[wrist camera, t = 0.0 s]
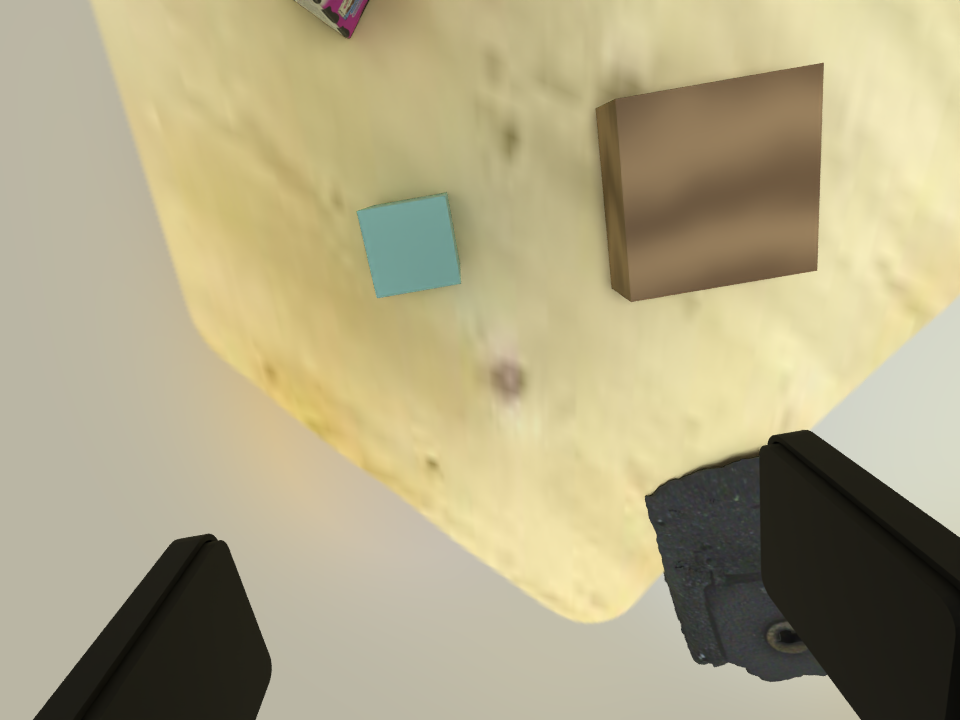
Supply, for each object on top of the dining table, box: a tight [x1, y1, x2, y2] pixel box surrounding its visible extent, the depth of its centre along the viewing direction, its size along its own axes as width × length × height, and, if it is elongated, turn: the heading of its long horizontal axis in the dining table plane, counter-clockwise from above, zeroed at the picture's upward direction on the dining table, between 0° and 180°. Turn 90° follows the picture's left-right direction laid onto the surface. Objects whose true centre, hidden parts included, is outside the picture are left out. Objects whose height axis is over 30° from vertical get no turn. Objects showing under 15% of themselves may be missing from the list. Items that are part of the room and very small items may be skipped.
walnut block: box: [596, 63, 824, 302], centre depth 36 cm, size 12×12×5 cm
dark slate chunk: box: [645, 457, 827, 682], centre depth 46 cm, size 15×22×5 cm
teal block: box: [357, 193, 461, 298], centre depth 35 cm, size 5×5×7 cm
